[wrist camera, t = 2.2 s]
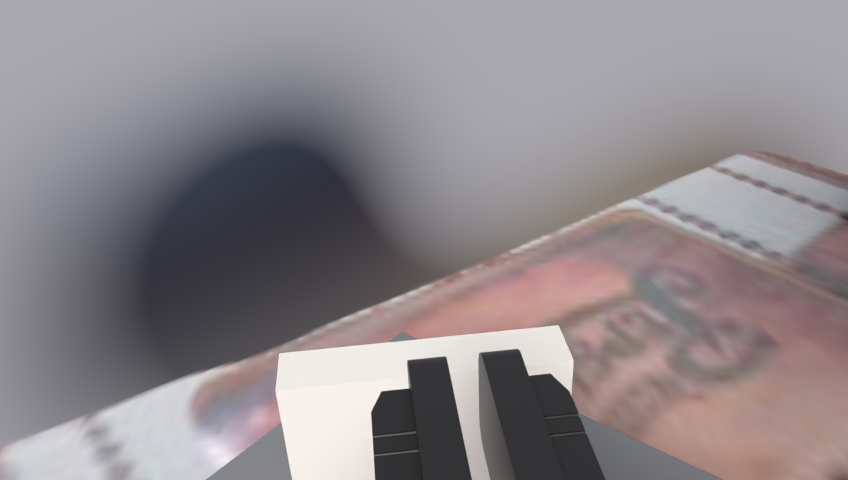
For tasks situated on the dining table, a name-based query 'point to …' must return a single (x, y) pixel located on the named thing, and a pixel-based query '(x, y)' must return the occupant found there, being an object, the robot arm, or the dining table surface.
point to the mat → (616, 453)
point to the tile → (382, 371)
